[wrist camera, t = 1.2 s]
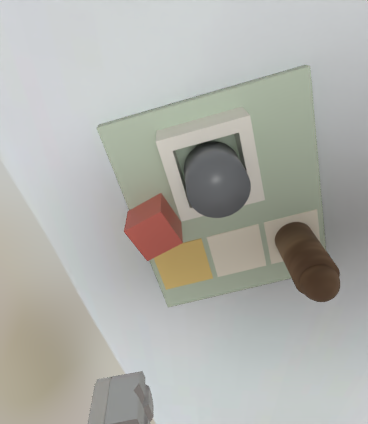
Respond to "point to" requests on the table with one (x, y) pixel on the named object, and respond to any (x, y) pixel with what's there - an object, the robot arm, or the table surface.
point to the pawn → (308, 262)
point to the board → (249, 214)
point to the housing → (202, 132)
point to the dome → (216, 180)
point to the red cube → (153, 227)
